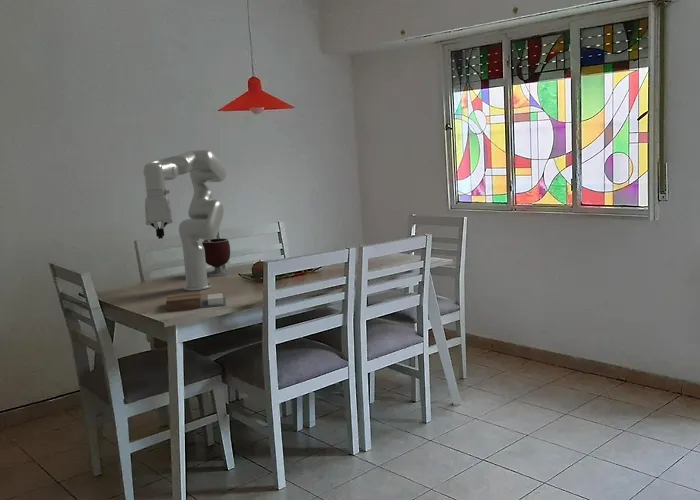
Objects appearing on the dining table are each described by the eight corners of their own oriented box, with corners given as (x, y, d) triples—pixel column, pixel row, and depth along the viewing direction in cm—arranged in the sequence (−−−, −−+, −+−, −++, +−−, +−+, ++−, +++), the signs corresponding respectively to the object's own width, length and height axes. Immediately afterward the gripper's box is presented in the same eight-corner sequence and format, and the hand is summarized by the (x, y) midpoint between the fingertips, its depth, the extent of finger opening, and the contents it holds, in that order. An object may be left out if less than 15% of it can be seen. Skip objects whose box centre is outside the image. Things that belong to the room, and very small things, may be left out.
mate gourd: (237, 271, 348) (234, 232, 345) (222, 276, 336) (218, 236, 332) (211, 270, 354) (208, 232, 351) (195, 276, 341) (192, 236, 338)
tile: (222, 293, 284) (222, 299, 285) (207, 294, 283) (208, 300, 284) (222, 297, 276) (223, 303, 276) (207, 299, 275) (208, 305, 275)
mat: (201, 300, 286) (201, 299, 286) (225, 298, 288) (225, 297, 288) (200, 308, 272) (200, 307, 272) (225, 305, 274) (225, 304, 274)
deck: (169, 303, 283) (168, 294, 283) (201, 300, 286) (200, 291, 285) (167, 311, 270) (166, 301, 269) (200, 308, 272) (199, 298, 272)
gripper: (175, 192, 284) (179, 235, 287) (138, 194, 282) (142, 238, 285) (174, 193, 277) (178, 237, 280) (136, 195, 274) (141, 241, 277)
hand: (160, 238), depth 282 cm, fingers closed
